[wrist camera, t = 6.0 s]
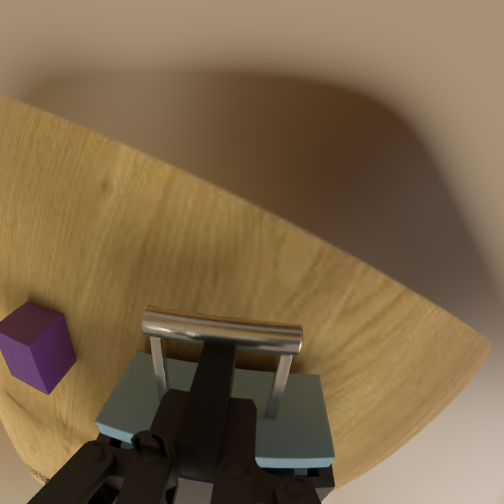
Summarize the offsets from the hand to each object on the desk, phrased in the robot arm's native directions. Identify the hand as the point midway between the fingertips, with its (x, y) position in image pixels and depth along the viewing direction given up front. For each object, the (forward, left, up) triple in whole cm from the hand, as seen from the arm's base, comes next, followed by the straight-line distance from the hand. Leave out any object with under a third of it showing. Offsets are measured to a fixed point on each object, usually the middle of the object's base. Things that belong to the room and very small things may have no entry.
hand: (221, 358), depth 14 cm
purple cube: (+16, +5, -4) cm, 17 cm away
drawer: (0, +8, -3) cm, 8 cm away
